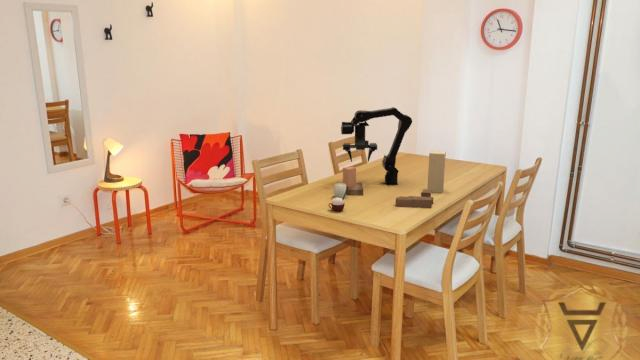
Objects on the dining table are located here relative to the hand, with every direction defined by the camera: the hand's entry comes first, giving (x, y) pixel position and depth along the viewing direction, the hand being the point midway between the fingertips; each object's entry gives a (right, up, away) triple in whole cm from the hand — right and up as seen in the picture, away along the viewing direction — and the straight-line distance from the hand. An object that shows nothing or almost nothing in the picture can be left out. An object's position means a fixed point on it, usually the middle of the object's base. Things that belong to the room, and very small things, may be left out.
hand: (359, 161), depth 290 cm
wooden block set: (+25, -22, -29) cm, 44 cm away
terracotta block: (-6, -13, -11) cm, 18 cm away
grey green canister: (-12, -19, -20) cm, 30 cm away
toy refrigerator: (+40, -16, -10) cm, 44 cm away
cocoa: (-13, -25, -41) cm, 49 cm away
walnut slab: (-6, -16, -10) cm, 20 cm away
